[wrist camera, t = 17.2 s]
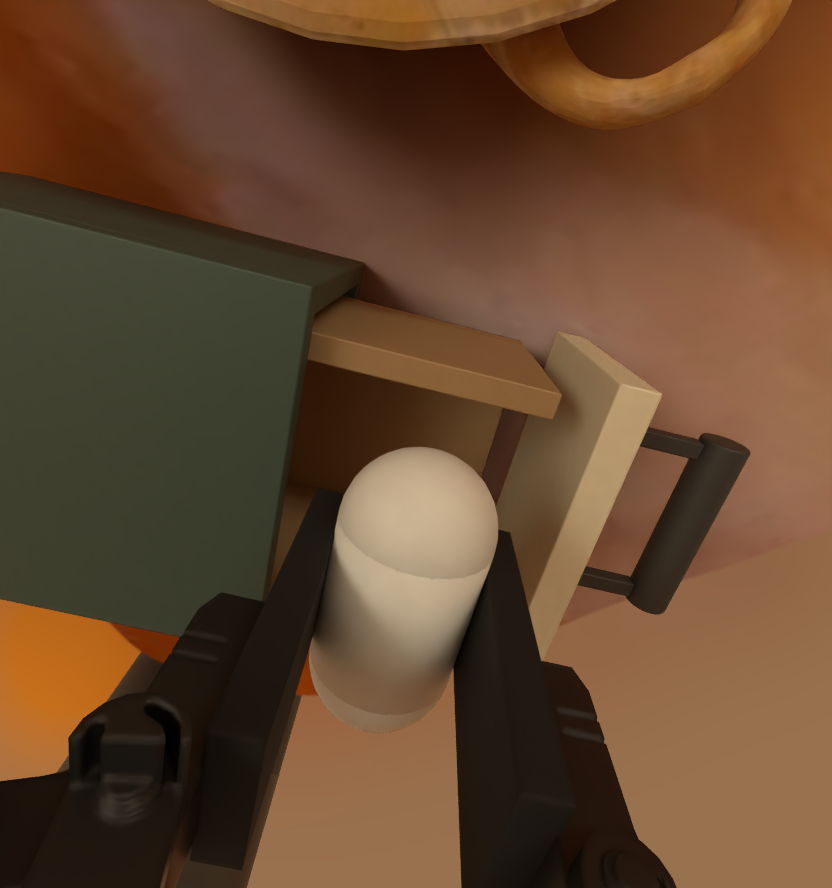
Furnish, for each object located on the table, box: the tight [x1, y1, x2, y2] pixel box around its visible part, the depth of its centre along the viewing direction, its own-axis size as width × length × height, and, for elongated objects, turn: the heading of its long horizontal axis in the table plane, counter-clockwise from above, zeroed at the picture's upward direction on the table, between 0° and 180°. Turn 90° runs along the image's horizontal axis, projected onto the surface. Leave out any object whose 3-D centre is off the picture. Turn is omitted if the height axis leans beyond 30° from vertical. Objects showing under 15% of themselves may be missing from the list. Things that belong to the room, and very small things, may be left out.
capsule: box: [309, 447, 498, 733], centre depth 12 cm, size 7×3×3 cm, turn 166°
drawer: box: [269, 296, 750, 661], centre depth 19 cm, size 18×10×8 cm, turn 76°
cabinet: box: [0, 172, 364, 637], centre depth 18 cm, size 14×12×10 cm
